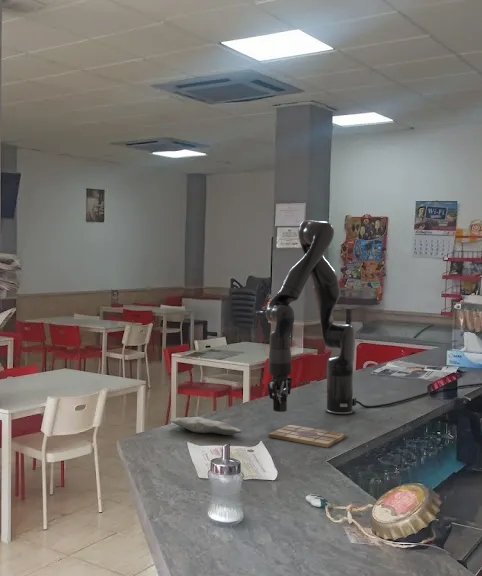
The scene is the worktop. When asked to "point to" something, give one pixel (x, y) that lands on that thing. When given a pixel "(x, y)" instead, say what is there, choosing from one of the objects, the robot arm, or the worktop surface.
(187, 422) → the stone tool replica
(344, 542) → the worktop surface
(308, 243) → the robot arm
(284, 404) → the dark grey short cylinder
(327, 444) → the grid board
